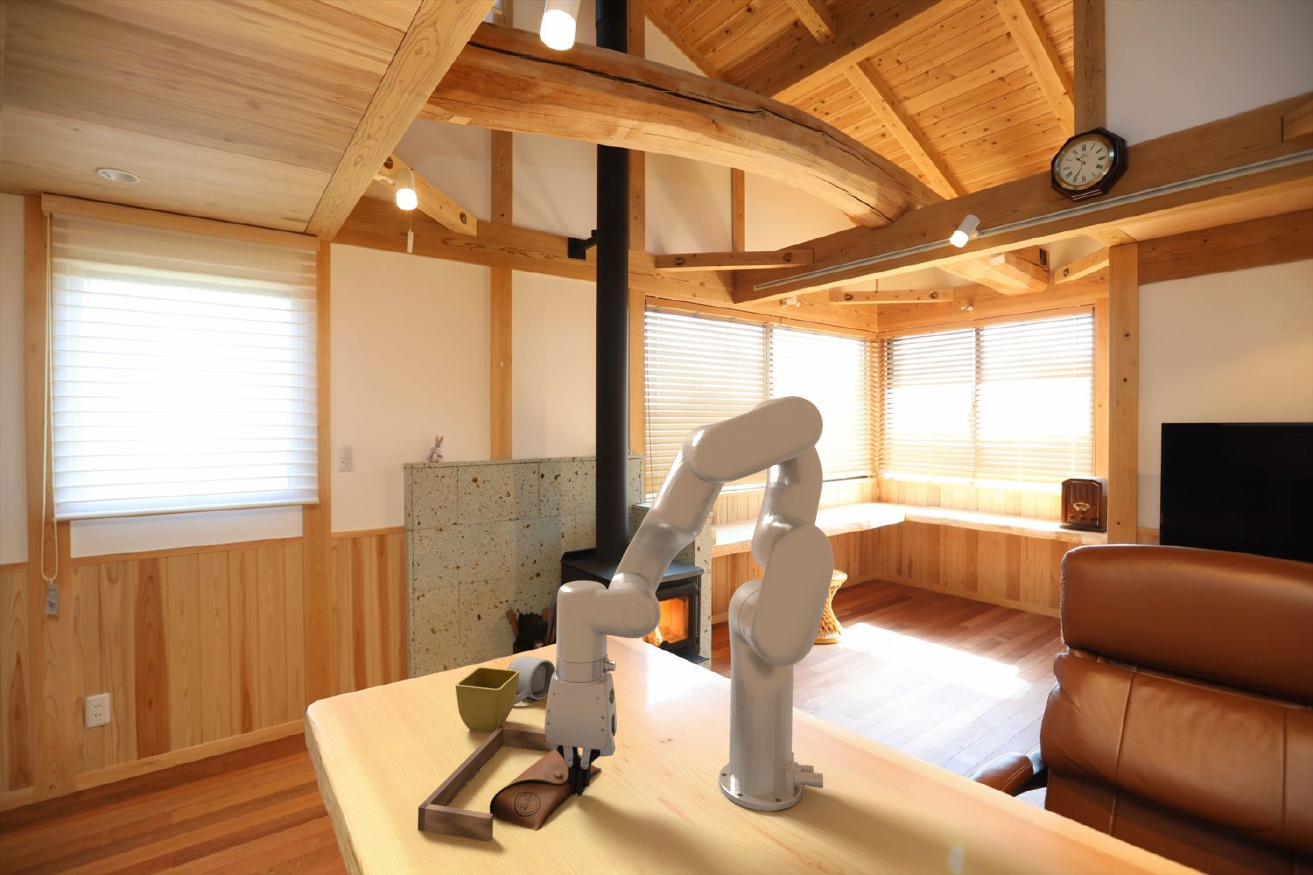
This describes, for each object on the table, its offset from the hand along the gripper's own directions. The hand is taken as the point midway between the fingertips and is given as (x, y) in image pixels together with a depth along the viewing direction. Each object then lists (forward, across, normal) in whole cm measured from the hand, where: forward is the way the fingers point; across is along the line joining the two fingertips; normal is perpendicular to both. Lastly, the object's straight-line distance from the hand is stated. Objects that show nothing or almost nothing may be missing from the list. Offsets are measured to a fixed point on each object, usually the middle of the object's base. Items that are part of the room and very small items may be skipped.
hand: (579, 789), depth 88 cm
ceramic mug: (+1, +22, -31) cm, 38 cm away
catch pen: (+1, +14, 0) cm, 14 cm away
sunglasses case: (+2, +5, -1) cm, 5 cm away
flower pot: (+1, +24, -17) cm, 29 cm away
